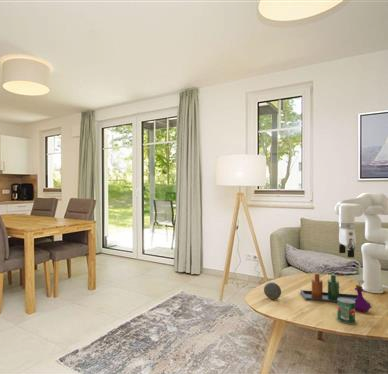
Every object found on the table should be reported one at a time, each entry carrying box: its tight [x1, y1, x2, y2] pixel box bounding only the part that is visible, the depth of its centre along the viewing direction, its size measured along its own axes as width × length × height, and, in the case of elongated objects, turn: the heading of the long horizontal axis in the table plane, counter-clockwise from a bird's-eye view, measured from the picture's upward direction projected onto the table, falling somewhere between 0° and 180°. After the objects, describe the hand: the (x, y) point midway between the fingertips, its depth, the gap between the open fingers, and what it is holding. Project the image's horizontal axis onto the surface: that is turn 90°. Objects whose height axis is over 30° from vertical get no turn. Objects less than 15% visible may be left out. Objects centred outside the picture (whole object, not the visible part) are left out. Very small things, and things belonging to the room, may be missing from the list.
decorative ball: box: [263, 282, 282, 300], centre depth 190 cm, size 10×10×10 cm
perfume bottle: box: [354, 278, 372, 314], centre depth 170 cm, size 8×8×18 cm
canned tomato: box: [336, 297, 356, 325], centre depth 160 cm, size 8×8×11 cm
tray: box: [300, 289, 371, 306], centre depth 188 cm, size 34×14×2 cm, turn 74°
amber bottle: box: [311, 272, 324, 299], centre depth 190 cm, size 6×6×15 cm
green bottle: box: [327, 273, 340, 300], centre depth 187 cm, size 6×6×15 cm
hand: (346, 255), depth 176 cm, fingers open, 9 cm apart
